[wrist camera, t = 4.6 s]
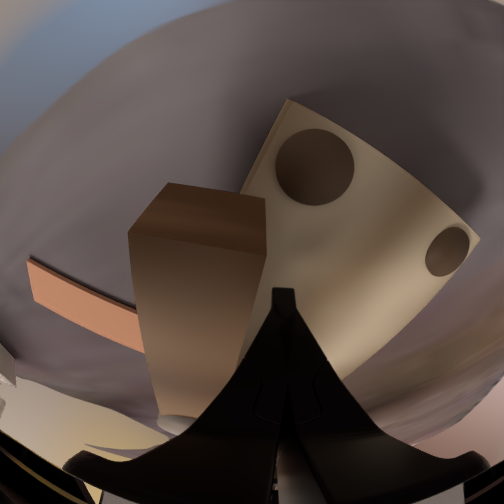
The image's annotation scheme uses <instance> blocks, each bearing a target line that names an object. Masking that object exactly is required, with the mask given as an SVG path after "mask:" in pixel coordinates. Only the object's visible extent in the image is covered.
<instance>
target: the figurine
mask: <svg viewBox="0 0 504 504" xmlns="http://www.w3.org/2000/svg"><path fill="white" fill-rule="evenodd" d="M0 380H1V381H3V382H5V383H7V384H10V385H12V386H14V387H16V373H15V359H14V358H13V357H12V355H11V354H10V353H9V352H8V351H7V350H6V349H5V348H4V347H3V346H2V345H1V343H0ZM4 407H5V400H4V399H3V398H2V397H0V417H1V415H2V412H3V410H4Z"/></svg>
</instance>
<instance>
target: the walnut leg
mask: <svg viewBox="0 0 504 504" xmlns="http://www.w3.org/2000/svg"><path fill="white" fill-rule="evenodd" d="M128 242H129V253H130V263H131V273H132V281H133V289H134V296H135V303H136V309H137V315H138V321H139V327H140V332H141V337H142V342H143V347H144V352H145V356H146V361H147V365H148V369H149V374H150V378H151V382H152V385H153V389H154V393H155V397H156V400H157V404H158V407H159V410H160V411H159V415H158V420H157V424H158V426H159V427H161V428H162V429H164V430H166V431H168V432H170V433H173V434H176V435H179V434H181V433H182V432H184V431H185V430H186V429H187V428H188V427H189V426H191V425H192V424H193V423H194V422H195V420H196V419H197V418H198V417H199V416H200V415H201V414H202V413H203V411H204V410H205V409H206V408H207V407H208V406H209V404H210V403H211V402H212V401H213V400H214V399H215V397H216V396H217V395H218V394H219V393H220V391H221V390H222V389H223V388H224V386H225V385H226V384H227V382H228V381H229V380H230V378H231V377H232V375H233V374H234V372H235V368H236V365H237V361H238V358H239V355H240V351H241V348H242V344H243V340H244V337H245V333H246V330H247V326H248V323H249V319H250V316H251V312H252V308H253V305H254V301H255V298H256V294H257V290H258V287H259V283H260V279H261V276H262V272H263V268H264V265H265V261H266V257H267V242H266V206H265V198H260V197H255V196H249V195H244V194H238V193H233V192H227V191H221V190H215V189H209V188H202V187H196V186H189V185H182V184H175V183H167V185H166V186H165V187H164V188H163V189H162V190H161V192H160V193H159V194H158V195H157V196H156V197H155V199H154V200H153V201H152V202H151V203H150V205H149V206H148V207H147V208H146V209H145V211H144V212H143V213H142V214H141V216H140V217H139V218H138V219H137V221H136V222H135V223H134V224H133V226H132V227H131V228H130V230H129V231H128Z"/></svg>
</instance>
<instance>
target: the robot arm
mask: <svg viewBox="0 0 504 504" xmlns="http://www.w3.org/2000/svg"><path fill="white" fill-rule="evenodd" d="M62 469H63V470H62ZM62 469H61V468H59V467H57V466H55V465H54V464H52V463H50V462H49V461H47V460H46V459H44V458H42V457H41V456H39V455H38V454H36V453H35V452H33V451H32V450H30V449H29V448H27V447H25V446H24V445H22V444H21V443H20V442H18V441H17V440H15V439H13V438H12V437H10V436H9V435H7V434H6V433H4V432H3V431H2V430H0V504H95V502H94V500H93V499H92V497H91V495H90V493H89V492H88V490H87V488H86V486H85V484H84V482H86V483H88V484H90V485H92V486H94V487H97V488H99V489H101V490H102V493H101V497H100V502H99V504H504V460H503V461H501V462H499V463H497V464H495V465H494V466H492V467H491V468H490V464H489V463H488V461H487V460H486V459H485V458H484V457H483V456H482V455H480V454H478V453H477V452H475V451H470V452H467V453H465V454H463V455H460V456H458V457H456V458H451V459H444V458H438V457H435V456H433V455H430V454H428V453H425V452H423V451H421V450H419V449H417V448H414V447H412V446H410V445H408V444H406V443H404V442H402V441H400V440H398V439H395V438H393V437H391V436H390V435H388V434H386V433H385V432H384V431H382V430H381V429H380V428H379V427H378V426H377V425H376V424H375V423H374V422H373V421H372V419H371V418H370V417H369V416H368V414H367V413H366V412H365V411H364V409H363V408H362V407H361V406H360V404H359V403H358V402H357V401H356V399H355V398H354V397H353V396H352V394H351V393H350V392H349V390H348V389H347V388H346V386H345V385H344V384H343V382H342V381H341V379H340V378H339V376H338V375H337V373H336V372H335V370H334V369H333V367H332V365H331V364H330V362H329V361H328V360H327V357H326V355H325V354H324V352H323V350H322V349H321V347H320V345H319V344H318V342H317V340H316V339H315V337H314V336H313V334H312V332H311V331H310V329H309V327H308V326H307V324H306V322H305V321H304V319H303V317H302V316H301V314H300V312H299V311H298V309H297V306H296V297H295V290H294V288H286V287H273V288H272V292H271V304H270V311H269V313H268V315H267V317H266V318H265V320H264V322H263V324H262V326H261V327H260V329H259V331H258V333H257V335H256V336H255V338H254V340H253V342H252V343H251V345H250V347H249V349H248V350H247V352H246V354H245V356H244V358H243V359H242V361H241V362H240V364H239V366H238V367H237V369H236V371H235V372H234V374H233V375H232V377H231V378H230V380H229V381H228V382H227V384H226V385H225V386H224V388H223V389H222V390H221V391H220V393H219V394H218V395H217V396H216V397H215V399H214V400H213V401H212V402H211V403H210V404H209V406H208V407H207V408H206V409H205V410H204V411H203V413H202V414H201V415H200V416H199V417H198V418H197V419H196V420H195V422H194V423H193V424H192V425H191V426H189V427H188V428H187V429H186V430H185V431H184V432H182V433H181V434H179V435H178V436H176V437H174V438H172V439H171V440H169V441H167V442H165V443H164V444H162V445H160V446H158V447H156V448H154V449H153V450H151V451H149V452H147V453H145V454H143V455H141V456H139V457H137V458H135V459H132V460H129V461H123V462H115V461H111V460H108V459H105V458H103V457H100V456H98V455H96V454H93V453H91V452H88V451H84V450H83V451H80V452H79V453H77V454H76V455H74V456H73V457H72V458H70V459H69V460H68V461H67V462H66V463H65V464H64V465H63V467H62ZM83 481H84V482H83ZM275 487H278V490H275Z"/></svg>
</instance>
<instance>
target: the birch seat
mask: <svg viewBox="0 0 504 504" xmlns="http://www.w3.org/2000/svg"><path fill="white" fill-rule="evenodd" d="M239 194H244V195H249V196H255V197H260V198H265V206H266V242H267V257H266V261H265V265H264V268H263V272H262V276H261V279H260V283H259V287H258V290H257V294H256V298H255V301H254V305H253V308H252V312H251V316H250V319H249V323H248V326H247V330H246V333H245V337H244V340H243V344H242V348H241V351H240V355H239V358H238V361H237V365H236V368H235V371H236V369H237V367H238V366H239V364H240V362H241V361H242V359H243V358H244V356H245V354H246V352H247V350H248V349H249V347H250V345H251V343H252V342H253V340H254V338H255V336H256V335H257V333H258V331H259V329H260V327H261V326H262V324H263V322H264V320H265V318H266V317H267V315H268V313H269V311H270V304H271V292H272V288H273V287H286V288H294V290H295V297H296V306H297V309H298V311H299V312H300V314H301V316H302V317H303V319H304V321H305V322H306V324H307V326H308V327H309V329H310V331H311V332H312V334H313V336H314V337H315V339H316V340H317V342H318V344H319V345H320V347H321V349H322V350H323V352H324V354H325V355H326V357H327V360H328V361H329V362H330V364H331V365H332V367H333V369H334V370H335V372H336V373H337V375H338V376H339V378H340V379H341V380H342V379H343V378H345V377H346V376H347V375H349V374H350V373H351V372H353V371H354V370H355V369H356V368H358V367H359V366H360V365H362V364H363V363H364V362H365V361H366V360H368V359H369V358H370V357H371V356H372V355H374V354H375V353H376V352H377V351H378V350H380V349H381V348H382V347H383V346H384V345H385V344H386V343H387V342H389V341H390V340H391V339H392V338H393V337H394V336H395V335H396V334H397V333H398V332H400V331H401V330H402V329H403V328H404V327H405V326H406V325H407V324H408V323H409V322H410V321H411V320H412V319H413V318H414V317H415V316H416V315H417V314H418V313H419V312H420V311H421V310H422V309H423V308H424V307H425V306H426V305H427V304H428V303H429V302H430V300H431V299H432V298H433V297H434V296H435V295H436V294H437V293H438V292H439V291H440V289H441V288H442V287H443V286H444V285H445V284H446V283H447V281H448V280H449V279H450V278H451V277H452V276H453V274H454V273H455V272H456V271H457V269H458V268H459V267H460V266H461V264H462V263H463V262H464V261H465V259H466V258H467V257H468V255H469V254H470V253H471V252H472V250H473V249H474V247H475V246H476V245H477V243H478V242H479V241H480V237H479V236H478V235H477V234H476V233H475V232H474V231H473V230H472V229H471V228H470V227H469V226H468V225H467V224H466V223H465V222H464V221H463V220H462V219H461V218H460V217H459V216H458V215H457V214H456V213H455V212H454V211H453V210H451V209H450V208H449V207H448V206H447V205H446V204H445V203H444V202H443V201H442V200H440V199H439V198H438V197H437V196H436V195H435V194H434V193H432V192H431V191H430V190H429V189H428V188H427V187H425V186H424V185H423V184H422V183H420V182H419V181H418V180H417V179H415V178H414V177H413V176H412V175H410V174H409V173H408V172H407V171H405V170H404V169H403V168H401V167H400V166H399V165H397V164H396V163H395V162H393V161H392V160H391V159H389V158H388V157H386V156H385V155H383V154H382V153H381V152H379V151H378V150H376V149H375V148H373V147H372V146H370V145H369V144H367V143H366V142H364V141H363V140H361V139H360V138H358V137H357V136H355V135H353V134H352V133H350V132H349V131H347V130H345V129H344V128H342V127H340V126H339V125H337V124H335V123H334V122H332V121H330V120H328V119H327V118H325V117H323V116H321V115H319V114H318V113H316V112H314V111H312V110H310V109H308V108H306V107H304V106H302V105H301V104H299V103H297V102H295V101H292V100H289V99H287V100H286V101H285V103H284V105H283V107H282V109H281V111H280V113H279V115H278V117H277V119H276V120H275V122H274V124H273V126H272V128H271V130H270V132H269V134H268V136H267V138H266V140H265V142H264V144H263V146H262V148H261V150H260V152H259V154H258V156H257V158H256V160H255V162H254V164H253V166H252V168H251V170H250V172H249V174H248V176H247V178H246V180H245V182H244V184H243V187H242V189H241V191H240V193H239Z"/></svg>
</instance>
